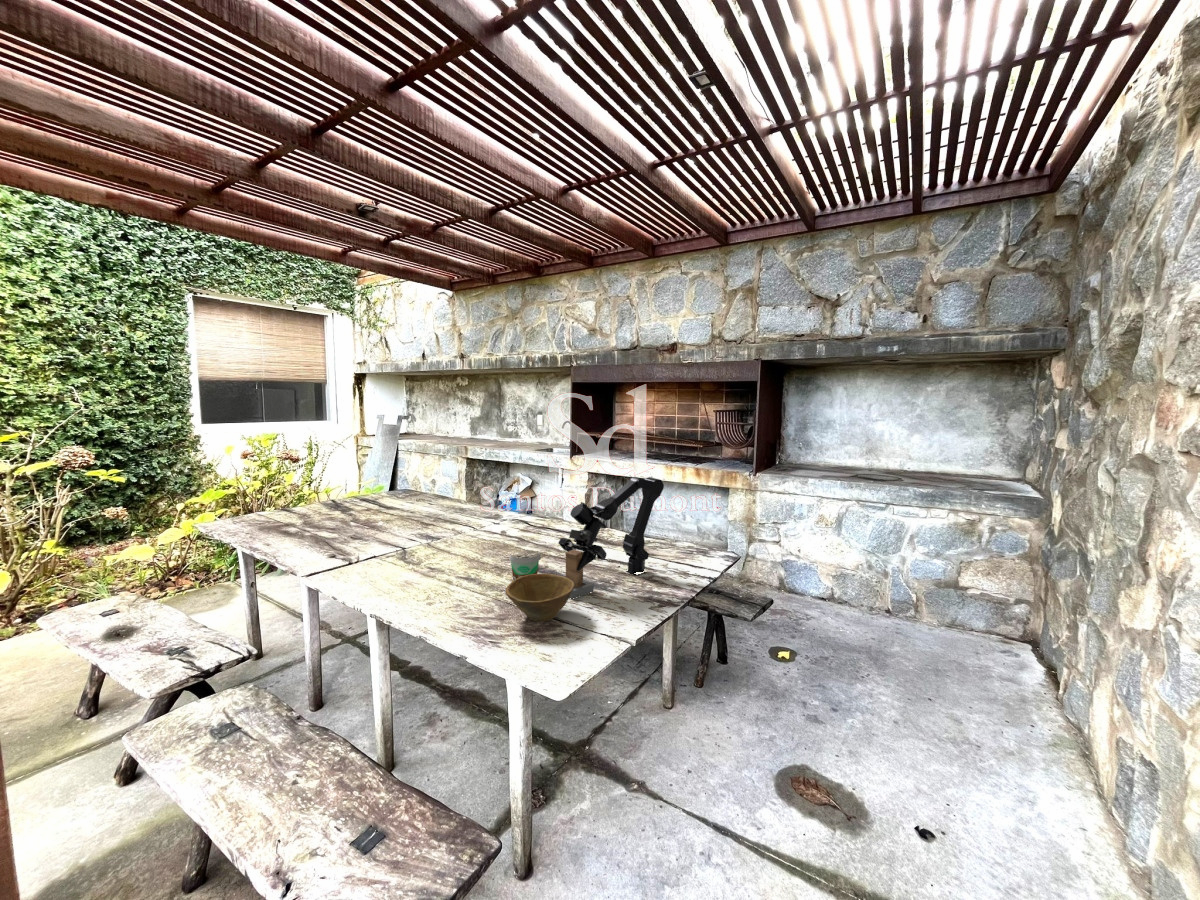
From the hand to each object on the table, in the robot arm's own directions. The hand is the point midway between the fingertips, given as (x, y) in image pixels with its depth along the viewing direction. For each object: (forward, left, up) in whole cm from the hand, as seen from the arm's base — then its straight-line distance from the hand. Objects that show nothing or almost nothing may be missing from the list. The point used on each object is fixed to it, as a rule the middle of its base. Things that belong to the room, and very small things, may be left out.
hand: (572, 568), depth 178 cm
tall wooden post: (-1, 0, -7) cm, 7 cm away
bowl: (+19, +8, -9) cm, 22 cm away
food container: (+7, -20, -9) cm, 23 cm away
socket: (-1, 0, -9) cm, 9 cm away
